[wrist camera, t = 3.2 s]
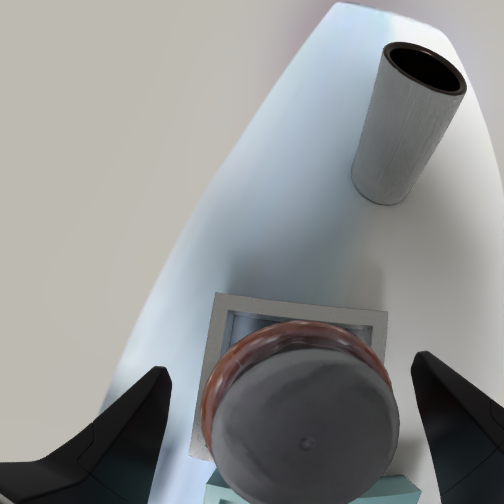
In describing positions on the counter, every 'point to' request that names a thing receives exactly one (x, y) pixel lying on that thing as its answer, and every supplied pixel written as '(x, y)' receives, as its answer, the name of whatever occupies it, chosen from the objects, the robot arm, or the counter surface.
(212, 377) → the supplement bottle
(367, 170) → the grey hollow cylinder
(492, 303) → the counter surface
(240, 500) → the bin
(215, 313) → the collar
